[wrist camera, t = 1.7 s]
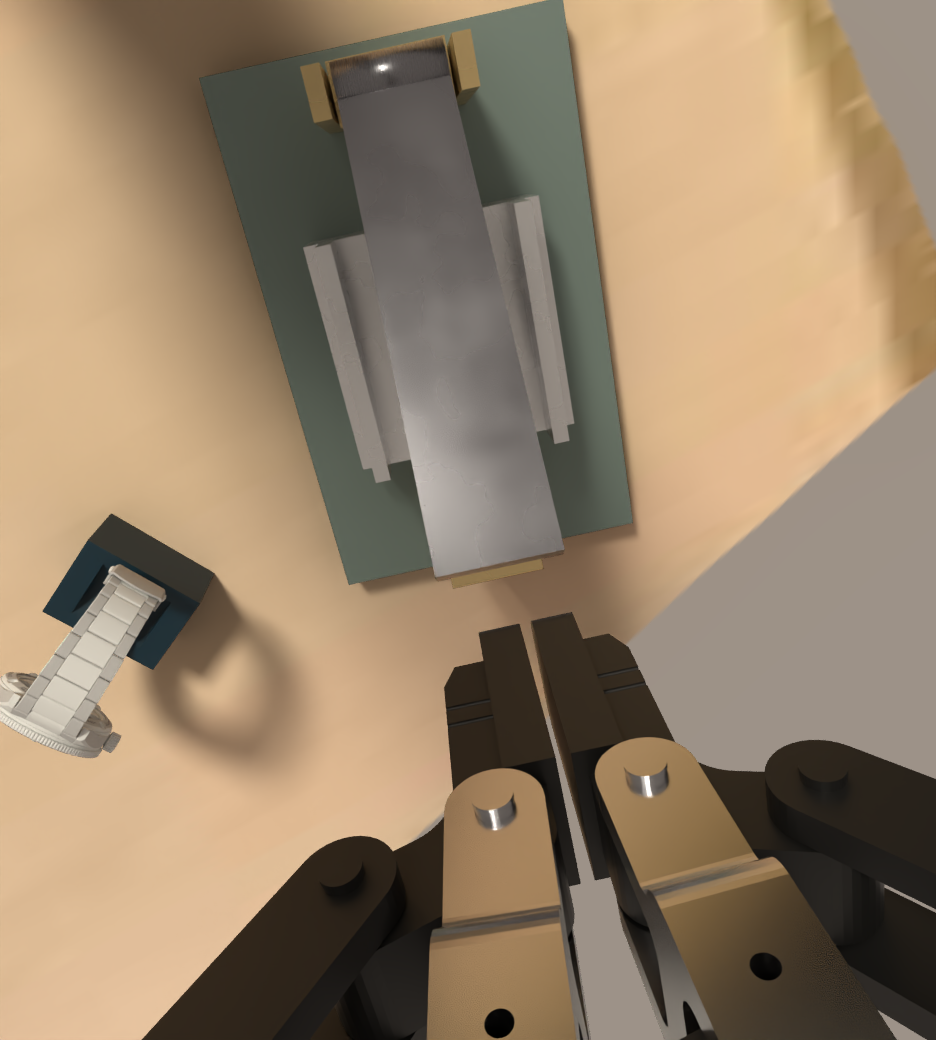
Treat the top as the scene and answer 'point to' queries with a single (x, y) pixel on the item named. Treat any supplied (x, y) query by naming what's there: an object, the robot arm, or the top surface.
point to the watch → (103, 635)
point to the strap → (444, 314)
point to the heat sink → (363, 342)
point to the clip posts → (330, 121)
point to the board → (335, 211)
